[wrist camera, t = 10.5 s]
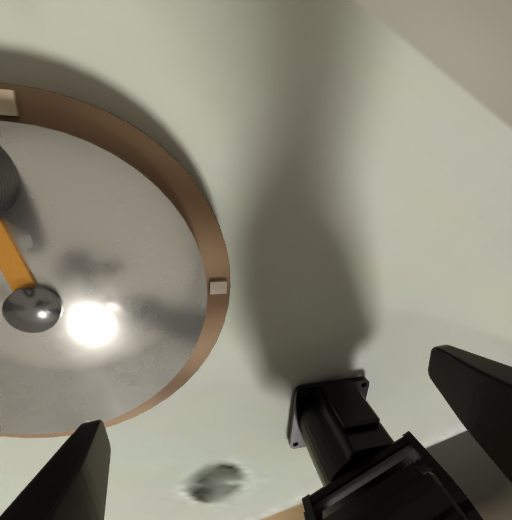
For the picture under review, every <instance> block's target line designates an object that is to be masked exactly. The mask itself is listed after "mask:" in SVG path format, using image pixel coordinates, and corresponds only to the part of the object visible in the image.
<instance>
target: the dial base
mask: <svg viewBox="0 0 512 520" xmlns="http://www.w3.org/2000/svg"><path fill="white" fill-rule="evenodd" d="M0 121H7V122H16V123H23V124H31V125H39V126H43V127H47V128H51V129H55V130H59V131H63V132H67V133H70V134H73V135H75V136H78V137H81V138H83V139H86V140H89V141H91V142H94V143H96V144H98V145H100V146H102V147H104V148H106V149H108V150H110V151H112V152H113V153H115V154H117V155H119V156H120V157H122V158H123V159H125V160H126V161H128V162H129V163H131V164H132V165H134V166H135V167H137V168H138V169H140V170H141V171H142V172H143V173H144V174H146V175H147V176H148V177H149V178H150V179H151V180H153V181H154V182H155V183H156V184H157V185H158V186H159V187H160V188H161V189H162V190H163V191H164V192H165V193H166V194H167V196H168V197H169V198H170V199H171V200H172V201H173V202H174V204H175V205H176V207H177V208H178V209H179V211H180V212H181V214H182V215H183V216H184V218H185V219H186V221H187V223H188V225H189V227H190V229H191V231H192V233H193V235H194V237H195V239H196V242H197V245H198V248H199V250H200V253H201V257H202V261H203V266H204V270H205V275H206V283H207V307H206V315H205V320H204V324H203V328H202V332H201V334H200V337H199V339H198V342H197V344H196V347H195V348H194V350H193V352H192V354H191V355H190V357H189V359H188V361H187V362H186V363H185V365H184V366H183V367H182V369H181V370H180V371H179V373H178V374H177V375H176V376H175V377H174V378H173V379H172V380H171V381H170V382H169V383H168V384H167V385H166V386H165V387H164V388H163V389H162V390H161V391H159V392H158V393H157V394H156V395H154V396H153V397H152V398H150V399H149V400H147V401H146V402H144V403H143V404H141V405H140V406H138V407H136V408H134V409H132V410H131V411H129V412H127V413H125V414H123V415H121V416H118V417H116V418H113V419H111V420H108V421H105V422H103V423H104V426H105V427H109V426H112V425H115V424H118V423H120V422H123V421H125V420H128V419H130V418H133V417H135V416H137V415H139V414H141V413H143V412H145V411H147V410H149V409H151V408H153V407H154V406H156V405H157V404H159V403H160V402H162V401H163V400H165V399H166V398H168V397H169V396H171V395H172V394H173V393H174V392H175V391H177V390H178V389H179V388H180V387H182V386H183V385H184V384H185V383H186V382H187V381H188V380H189V379H190V378H191V377H192V376H193V375H194V374H195V372H196V371H197V370H198V369H199V368H200V366H201V365H202V364H203V362H204V361H205V360H206V358H207V357H208V355H209V354H210V352H211V350H212V348H213V347H214V345H215V343H216V341H217V339H218V337H219V334H220V332H221V329H222V327H223V324H224V321H225V317H226V313H227V309H228V304H229V295H230V265H229V260H228V255H227V249H226V245H225V242H224V239H223V236H222V233H221V229H220V226H219V224H218V222H217V220H216V218H215V216H214V214H213V212H212V210H211V208H210V206H209V203H208V202H207V200H206V198H205V197H204V195H203V194H202V192H201V191H200V189H199V188H198V186H197V184H196V183H195V181H194V180H193V179H192V178H191V176H190V175H189V174H188V173H187V172H186V171H185V169H184V168H183V167H182V166H181V165H180V164H179V162H178V161H177V160H176V159H175V158H173V157H172V156H171V155H170V154H169V153H168V152H167V151H166V150H165V149H164V148H162V147H161V146H160V145H159V144H158V143H157V142H155V141H154V140H153V139H151V138H150V137H148V136H147V135H146V134H144V133H143V132H141V131H140V130H139V129H137V128H136V127H134V126H132V125H131V124H129V123H127V122H125V121H123V120H121V119H120V118H118V117H116V116H114V115H112V114H111V113H109V112H106V111H104V110H101V109H99V108H96V107H94V106H91V105H89V104H86V103H84V102H81V101H79V100H76V99H74V98H71V97H67V96H64V95H60V94H56V93H53V92H49V91H45V90H42V89H38V88H32V87H25V86H18V85H12V84H5V83H0ZM74 432H75V430H71V431H66V432H59V433H49V434H26V435H17V434H4V433H0V436H5V437H19V438H45V437H58V436H67V435H72V434H73V433H74Z"/></svg>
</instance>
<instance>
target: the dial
mask: <svg viewBox="0 0 512 520" xmlns="http://www.w3.org/2000/svg"><path fill="white" fill-rule="evenodd" d="M206 307H207V283H206V275H205V270H204V266H203V261H202V257H201V253H200V250H199V248H198V245H197V242H196V239H195V237H194V235H193V233H192V231H191V229H190V227H189V225H188V223H187V221H186V219H185V218H184V216H183V215H182V214H181V212H180V211H179V209H178V208H177V207H176V205H175V204H174V202H173V201H172V200H171V199H170V198H169V197H168V196H167V194H166V193H165V192H164V191H163V190H162V189H161V188H160V187H159V186H158V185H157V184H156V183H155V182H154V181H153V180H151V179H150V178H149V177H148V176H147V175H146V174H144V173H143V172H142V171H141V170H140V169H138V168H137V167H135V166H134V165H132V164H131V163H129V162H128V161H126V160H125V159H123V158H122V157H120V156H119V155H117V154H115V153H113V152H112V151H110V150H108V149H106V148H104V147H102V146H100V145H98V144H96V143H94V142H91V141H89V140H86V139H83V138H81V137H78V136H75V135H73V134H70V133H67V132H63V131H59V130H55V129H51V128H47V127H43V126H39V125H31V124H23V123H16V122H7V121H0V433H4V434H17V435H26V434H49V433H59V432H66V431H71V430H76V429H77V428H78V427H79V426H80V425H81V424H82V423H84V422H88V421H92V420H97V419H100V420H102V421H103V422H105V421H108V420H111V419H113V418H116V417H118V416H121V415H123V414H125V413H127V412H129V411H131V410H132V409H134V408H136V407H138V406H140V405H141V404H143V403H144V402H146V401H147V400H149V399H150V398H152V397H153V396H154V395H156V394H157V393H158V392H159V391H161V390H162V389H163V388H164V387H165V386H166V385H167V384H168V383H169V382H170V381H171V380H172V379H173V378H174V377H175V376H176V375H177V374H178V373H179V371H180V370H181V369H182V367H183V366H184V365H185V363H186V362H187V361H188V359H189V357H190V355H191V354H192V352H193V350H194V348H195V347H196V344H197V342H198V339H199V337H200V334H201V332H202V328H203V324H204V320H205V315H206Z"/></svg>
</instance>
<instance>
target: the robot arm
mask: <svg viewBox="0 0 512 520" xmlns="http://www.w3.org/2000/svg"><path fill="white" fill-rule="evenodd" d="M428 373H429V376H430V378H431V380H432V381H433V383H434V384H435V386H436V387H437V388H438V390H439V391H440V393H441V394H442V395H443V397H444V398H445V400H446V401H447V403H448V404H449V405H450V407H451V408H452V410H453V411H454V412H455V414H456V415H457V417H458V418H459V420H460V421H461V422H462V424H463V425H464V426H465V428H466V429H467V430H468V431H469V432H470V434H471V435H472V436H473V437H474V439H475V440H476V441H477V442H478V443H479V445H480V446H481V447H482V448H483V449H484V451H485V452H486V453H487V454H488V455H489V457H490V458H491V459H492V460H493V461H494V463H495V464H496V465H497V466H498V467H499V469H500V470H501V471H502V472H503V473H504V475H505V476H506V477H507V478H508V479H509V480H510V482H511V483H512V367H510V366H508V365H505V364H502V363H499V362H496V361H493V360H490V359H487V358H484V357H482V356H479V355H476V354H473V353H470V352H467V351H464V350H461V349H458V348H456V347H453V346H450V345H441V346H437V347H434V348H433V349H432V350H431V355H430V361H429V367H428ZM368 387H369V381H368V380H367V379H366V378H365V377H358V378H351V379H343V380H336V381H329V382H321V383H314V384H307V385H300V386H298V387H297V388H296V389H295V394H294V402H293V410H292V418H291V426H290V434H289V445H290V447H291V448H293V449H295V448H301V447H307V450H308V452H309V454H310V457H311V459H312V461H313V463H314V466H315V468H316V470H317V473H318V475H319V477H320V480H321V482H322V484H323V487H322V488H321V489H319V490H318V491H316V492H315V493H313V494H311V495H309V494H308V495H307V496H305V497H304V498H302V501H303V505H304V509H305V512H304V516H305V520H483V519H482V517H481V516H480V515H479V513H478V512H477V510H476V509H475V508H474V506H473V505H472V503H471V502H470V501H469V499H468V498H467V497H466V495H465V494H464V493H463V492H462V490H461V489H460V488H459V486H458V485H457V484H456V483H455V482H454V480H453V479H452V478H451V477H450V476H449V475H448V474H447V472H446V471H445V470H444V469H443V468H442V467H441V466H440V465H439V464H438V462H437V461H436V460H435V459H434V458H433V457H432V456H431V455H430V454H429V453H428V451H427V450H426V449H425V448H424V447H423V446H422V445H421V444H420V443H419V441H418V440H417V439H416V438H415V437H414V436H413V435H412V434H411V433H410V432H409V431H408V432H406V433H405V434H403V435H402V436H403V437H401V438H400V439H398V440H397V441H395V442H394V441H393V439H392V438H391V437H390V435H389V434H388V433H387V431H386V430H385V428H384V427H383V426H382V424H381V423H380V422H379V421H380V419H379V417H378V416H377V414H376V413H375V412H374V410H373V409H372V408H371V406H370V405H369V404H368V402H367V401H366V396H367V391H368ZM302 391H303V392H302ZM110 454H111V449H110V442H109V439H108V436H107V433H106V429H105V426H104V423H103V421H102V420H100V419H97V420H92V421H88V422H84V423H82V424H81V425H80V426H79V427H78V428H77V429H76V430H75V432H74V433H73V434H72V435H71V436H70V437H69V438H68V440H67V441H66V442H65V443H64V444H63V445H62V446H61V448H60V449H59V450H58V451H57V452H56V453H55V454H54V456H53V457H52V458H51V459H50V460H49V461H48V462H47V464H46V465H45V466H44V467H43V468H42V469H41V470H40V471H39V473H38V474H37V475H36V476H35V477H34V478H33V479H32V481H31V482H30V483H29V484H28V485H27V486H26V487H25V489H24V490H23V491H22V492H21V493H20V494H19V495H18V497H17V498H16V499H15V500H14V501H13V502H12V503H11V505H10V506H9V507H8V508H7V509H6V510H5V511H4V513H3V514H2V515H1V516H0V520H104V514H105V504H106V494H107V484H108V474H109V464H110Z"/></svg>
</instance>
